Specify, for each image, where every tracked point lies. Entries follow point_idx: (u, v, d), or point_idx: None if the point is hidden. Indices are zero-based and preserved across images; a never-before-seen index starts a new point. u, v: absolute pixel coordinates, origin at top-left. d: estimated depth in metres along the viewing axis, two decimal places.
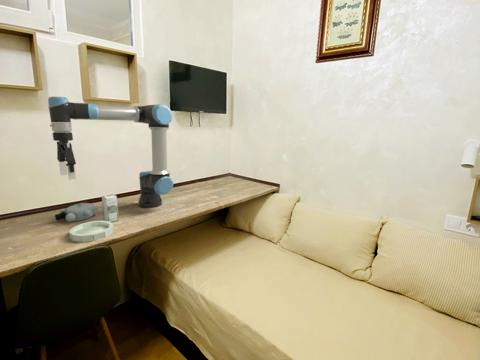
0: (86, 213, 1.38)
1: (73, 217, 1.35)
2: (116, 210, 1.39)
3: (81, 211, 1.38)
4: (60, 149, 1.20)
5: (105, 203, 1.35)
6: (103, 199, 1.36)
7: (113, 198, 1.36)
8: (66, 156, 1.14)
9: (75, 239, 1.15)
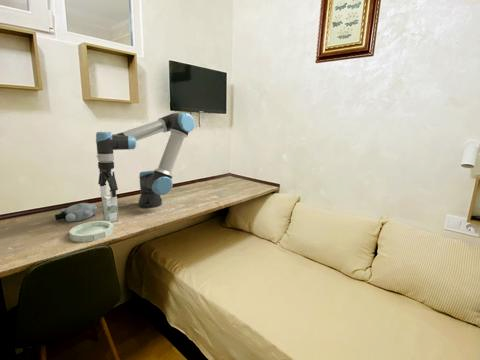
0: (86, 213, 1.38)
1: (73, 217, 1.35)
2: (116, 210, 1.39)
3: (81, 211, 1.38)
4: None
5: (105, 203, 1.35)
6: (103, 199, 1.36)
7: None
8: (109, 183, 1.31)
9: (75, 239, 1.15)
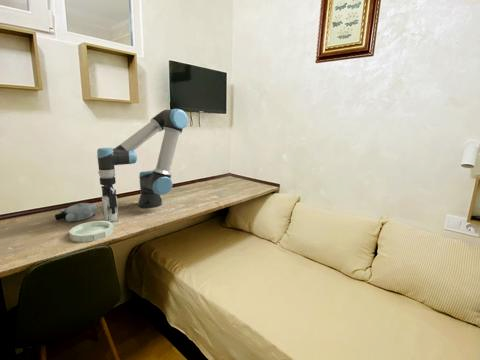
0: (86, 213, 1.38)
1: (73, 217, 1.35)
2: (116, 210, 1.39)
3: (81, 211, 1.38)
4: None
5: (105, 203, 1.35)
6: (103, 199, 1.36)
7: None
8: (110, 200, 1.34)
9: (75, 239, 1.15)
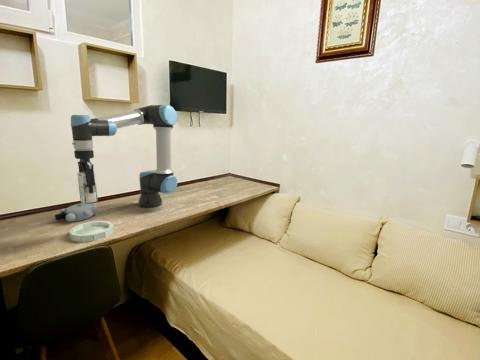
0: (86, 213, 1.38)
1: (73, 217, 1.35)
2: (95, 189, 1.19)
3: (81, 211, 1.38)
4: None
5: (81, 180, 1.15)
6: (79, 176, 1.16)
7: None
8: (86, 177, 1.14)
9: (75, 239, 1.15)
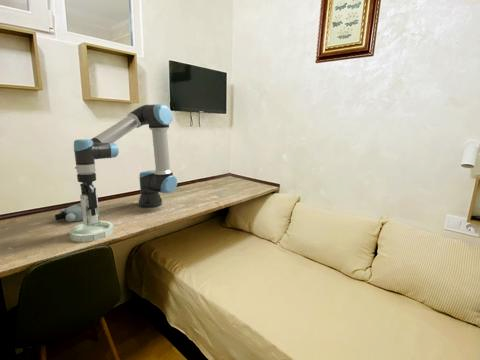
0: None
1: (73, 217, 1.35)
2: (97, 211, 1.21)
3: (81, 211, 1.38)
4: None
5: (84, 203, 1.17)
6: (81, 198, 1.18)
7: None
8: (89, 200, 1.17)
9: (75, 239, 1.15)
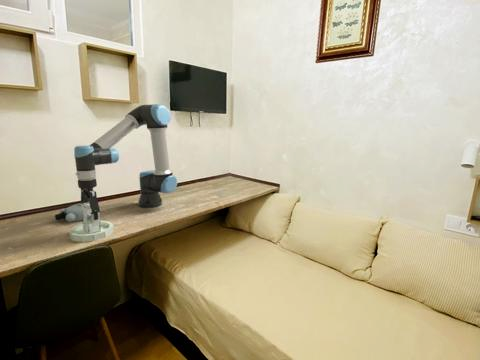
0: None
1: (73, 217, 1.35)
2: None
3: (81, 211, 1.38)
4: None
5: (85, 212, 1.18)
6: (83, 207, 1.19)
7: None
8: (91, 204, 1.16)
9: (75, 239, 1.15)
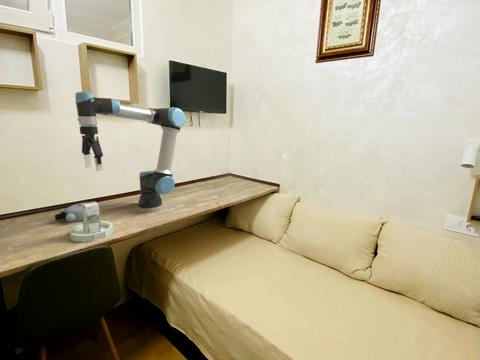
0: None
1: (73, 217, 1.35)
2: (98, 220, 1.22)
3: (81, 211, 1.38)
4: None
5: (85, 212, 1.18)
6: (82, 207, 1.19)
7: (94, 206, 1.19)
8: (93, 149, 1.20)
9: (75, 239, 1.15)
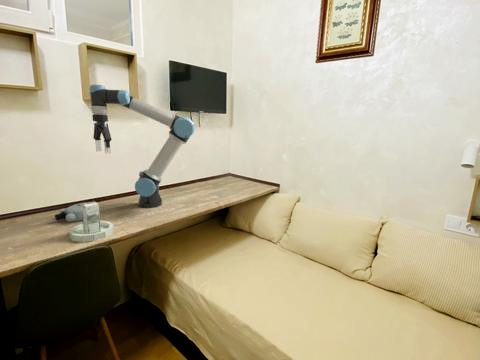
0: None
1: (73, 217, 1.35)
2: (98, 220, 1.22)
3: (81, 211, 1.38)
4: None
5: (85, 212, 1.18)
6: (82, 207, 1.19)
7: (94, 206, 1.19)
8: (103, 134, 1.38)
9: (75, 239, 1.15)
